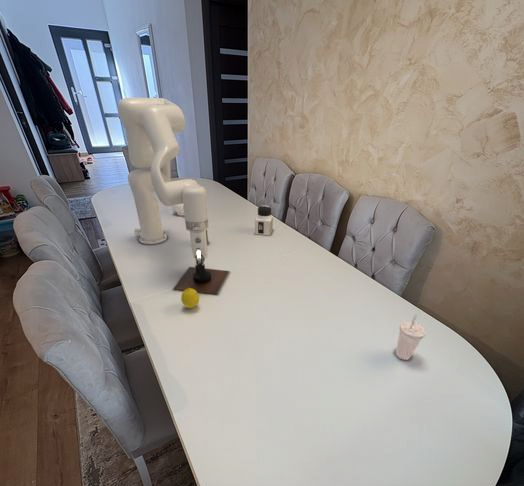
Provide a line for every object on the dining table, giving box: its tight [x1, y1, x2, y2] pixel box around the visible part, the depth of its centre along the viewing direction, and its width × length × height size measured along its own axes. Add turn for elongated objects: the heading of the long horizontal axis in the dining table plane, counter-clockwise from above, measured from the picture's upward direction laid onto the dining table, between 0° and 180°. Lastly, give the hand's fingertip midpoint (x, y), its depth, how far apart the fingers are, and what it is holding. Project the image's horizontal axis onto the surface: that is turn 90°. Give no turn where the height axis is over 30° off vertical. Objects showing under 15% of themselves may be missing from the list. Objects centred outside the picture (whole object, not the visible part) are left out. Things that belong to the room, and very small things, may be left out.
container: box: [254, 205, 274, 236], centre depth 152 cm, size 8×8×13 cm
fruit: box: [180, 288, 200, 309], centre depth 99 cm, size 6×6×8 cm
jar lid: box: [193, 271, 211, 284], centre depth 115 cm, size 7×7×2 cm
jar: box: [206, 229, 209, 246], centre depth 140 cm, size 6×6×11 cm
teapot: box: [171, 204, 184, 217], centre depth 172 cm, size 10×20×9 cm, turn 31°
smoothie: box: [395, 314, 427, 361], centre depth 81 cm, size 6×6×14 cm
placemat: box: [173, 266, 230, 296], centre depth 115 cm, size 16×16×1 cm
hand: (200, 267), depth 113 cm, fingers open, 9 cm apart
